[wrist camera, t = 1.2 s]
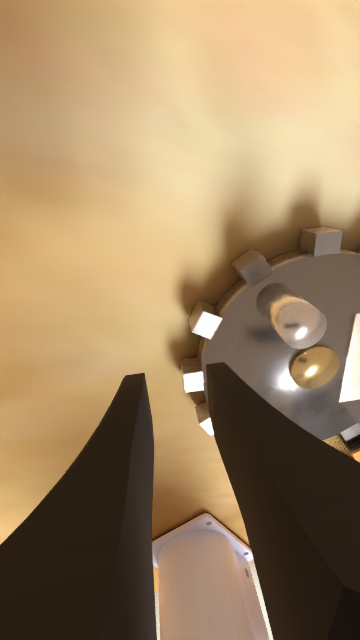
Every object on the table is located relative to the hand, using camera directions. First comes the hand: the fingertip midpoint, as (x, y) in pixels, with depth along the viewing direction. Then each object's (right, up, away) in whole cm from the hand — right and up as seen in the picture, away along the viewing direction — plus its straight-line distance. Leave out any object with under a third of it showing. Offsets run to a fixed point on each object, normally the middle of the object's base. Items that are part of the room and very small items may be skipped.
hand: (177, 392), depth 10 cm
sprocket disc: (+8, 0, +10) cm, 13 cm away
